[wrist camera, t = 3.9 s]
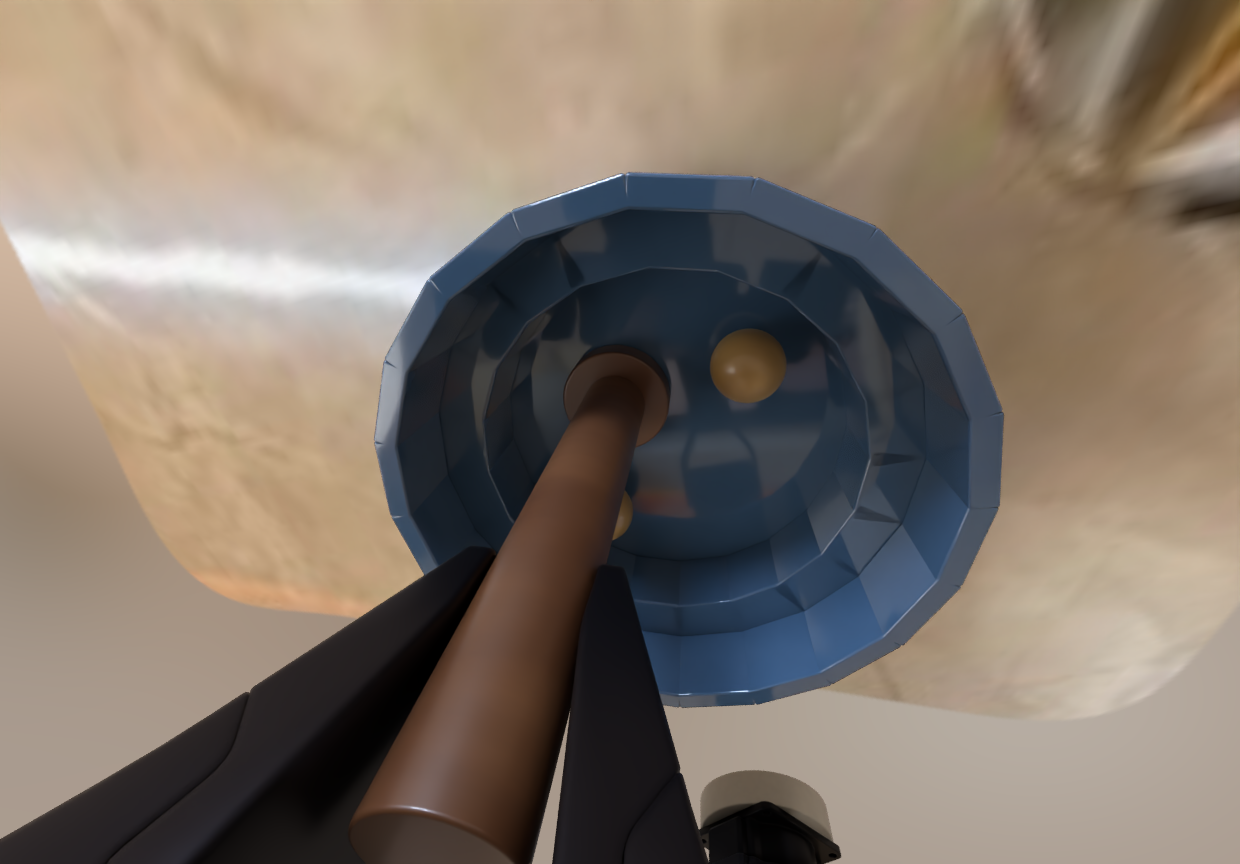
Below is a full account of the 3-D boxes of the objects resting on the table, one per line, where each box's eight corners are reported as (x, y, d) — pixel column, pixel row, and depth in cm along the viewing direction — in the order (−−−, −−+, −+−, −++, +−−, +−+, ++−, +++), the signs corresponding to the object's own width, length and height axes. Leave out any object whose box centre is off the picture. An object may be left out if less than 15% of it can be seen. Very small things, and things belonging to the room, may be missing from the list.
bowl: (1015, 406, 14) (1162, 505, 10) (689, 639, 20) (686, 765, 16) (638, 46, 12) (601, -45, 7) (397, 436, 18) (297, 517, 13)
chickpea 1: (648, 493, 16) (642, 529, 15) (613, 526, 17) (603, 565, 16) (602, 458, 16) (590, 491, 14) (568, 495, 17) (553, 530, 15)
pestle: (692, 389, 15) (671, 895, 4) (627, 457, 16) (491, 961, 6) (609, 322, 14) (346, 712, 4) (549, 398, 15) (236, 837, 5)
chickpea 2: (795, 351, 14) (810, 375, 12) (744, 400, 14) (751, 429, 13) (743, 305, 13) (750, 323, 12) (694, 358, 14) (694, 382, 12)
